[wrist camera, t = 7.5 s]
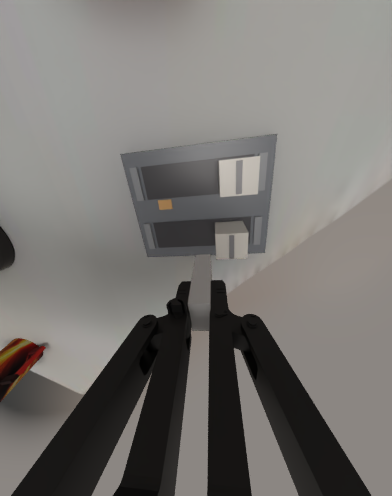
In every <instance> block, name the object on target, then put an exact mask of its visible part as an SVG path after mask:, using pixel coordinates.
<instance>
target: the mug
mask: <svg viewBox="0 0 392 496" xmlns="http://www.w3.org/2000/svg"><path fill="white" fill-rule="evenodd" d="M45 348H46V347H44V346H41V347H39V346H38V345H36V344H35V343H33V342H31V341H28V340H25V339H20V338H17V339H14V340H13V341H12V342H10V343H9V344H8V345H7V346H6V347H5V348H3V349H2V350H1V351H0V402H1V400H2V399H3V398H4V397H5V396H6V395H7V394H8V393H9V392H10V391H11V390H12V388H13V387H14V386H15V385H16V384H17V383H18V382H19V381H20V380H21V379H22V377H23V376H24V375H25V374H26V373H27V372H28V371H29V370H30V369H31V368H32V366H33V365H34V364H35V363H36V362H37V361H38V360H39V359H40V358H41V357H42V355H43V350H44V349H45Z"/></svg>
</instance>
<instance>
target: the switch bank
mask: <svg viewBox="0 0 392 496" xmlns="http://www.w3.org/2000/svg"><path fill="white" fill-rule="evenodd" d="M276 141H277V134H273V135H265V136H257V137H250V138H242V139H234V140H226V141H219V142H211V143H203V144H195V145H188V146H180V147H172V148H164V149H157V150H149V151H141V152H133V153H126V154H120V155H121V159H122V162H123V166H124V170H125V174H126V177H127V181H128V185H129V189H130V192H131V196H132V200H133V204H134V208H135V211H136V215H137V219H138V223H139V226H140V230H141V234H142V238H143V241H144V245H145V249H146V253H147V256H148V257H160V256H190V255H203V254H210V255H216V242H215V222H230V221H243V223H244V225H245V227H246V229H247V231H248V233H249V235H248V253H265V246H266V237H267V227H268V217H269V208H270V198H271V189H272V179H273V170H274V160H275V150H276ZM255 156H260V169H259V184H258V194H254V195H242V196H230V197H220V193H219V172H218V161H219V160H228V159H237V158H246V157H255Z"/></svg>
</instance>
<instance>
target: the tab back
mask: <svg viewBox="0 0 392 496" xmlns="http://www.w3.org/2000/svg"><path fill="white" fill-rule="evenodd" d="M248 235H249V233H248V231H247V229H246V227H245V225H244V223H243V221H230V222H215V242H216V260H218V259H247V255H248Z"/></svg>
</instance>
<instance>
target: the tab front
mask: <svg viewBox="0 0 392 496" xmlns="http://www.w3.org/2000/svg"><path fill="white" fill-rule="evenodd" d="M259 169H260V156H255V157H246V158H237V159H228V160H219V161H218V172H219V193H220V197H230V196H242V195H254V194H258V184H259Z"/></svg>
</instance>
